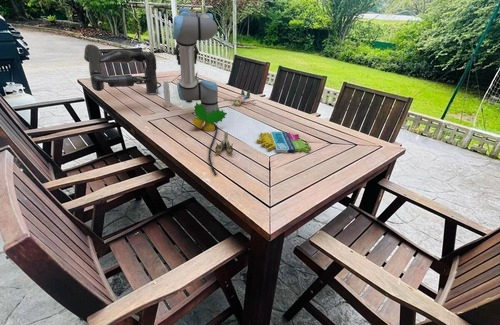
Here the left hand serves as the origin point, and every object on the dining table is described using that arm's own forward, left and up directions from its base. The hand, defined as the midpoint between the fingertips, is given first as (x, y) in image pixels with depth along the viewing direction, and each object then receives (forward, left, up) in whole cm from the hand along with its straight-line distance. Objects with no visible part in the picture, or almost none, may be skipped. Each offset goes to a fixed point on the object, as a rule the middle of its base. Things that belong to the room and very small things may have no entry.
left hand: (149, 79), depth 184 cm
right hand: (-4, +30, +8) cm, 31 cm away
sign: (+93, +46, -20) cm, 106 cm away
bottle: (0, +11, -20) cm, 23 cm away
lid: (-4, +30, -19) cm, 36 cm away
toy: (+13, +70, -20) cm, 74 cm away
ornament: (+55, +18, -20) cm, 62 cm away
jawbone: (+87, +11, -20) cm, 90 cm away
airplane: (-51, +54, -20) cm, 77 cm away
